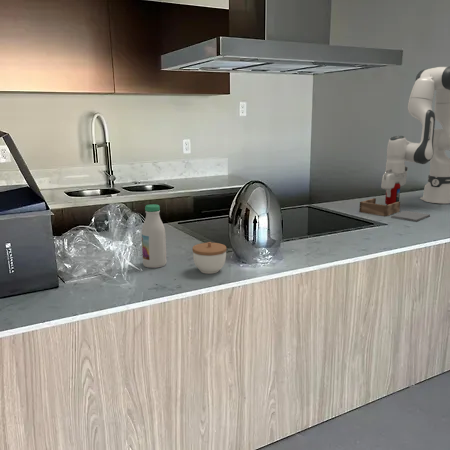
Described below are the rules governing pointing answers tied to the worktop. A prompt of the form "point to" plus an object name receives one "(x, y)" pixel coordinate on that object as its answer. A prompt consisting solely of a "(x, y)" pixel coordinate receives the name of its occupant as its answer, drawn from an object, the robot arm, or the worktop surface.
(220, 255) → the lidded jar
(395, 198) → the beverage can
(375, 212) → the wooden tray
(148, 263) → the milk bottle
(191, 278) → the worktop surface
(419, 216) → the rubber mat
